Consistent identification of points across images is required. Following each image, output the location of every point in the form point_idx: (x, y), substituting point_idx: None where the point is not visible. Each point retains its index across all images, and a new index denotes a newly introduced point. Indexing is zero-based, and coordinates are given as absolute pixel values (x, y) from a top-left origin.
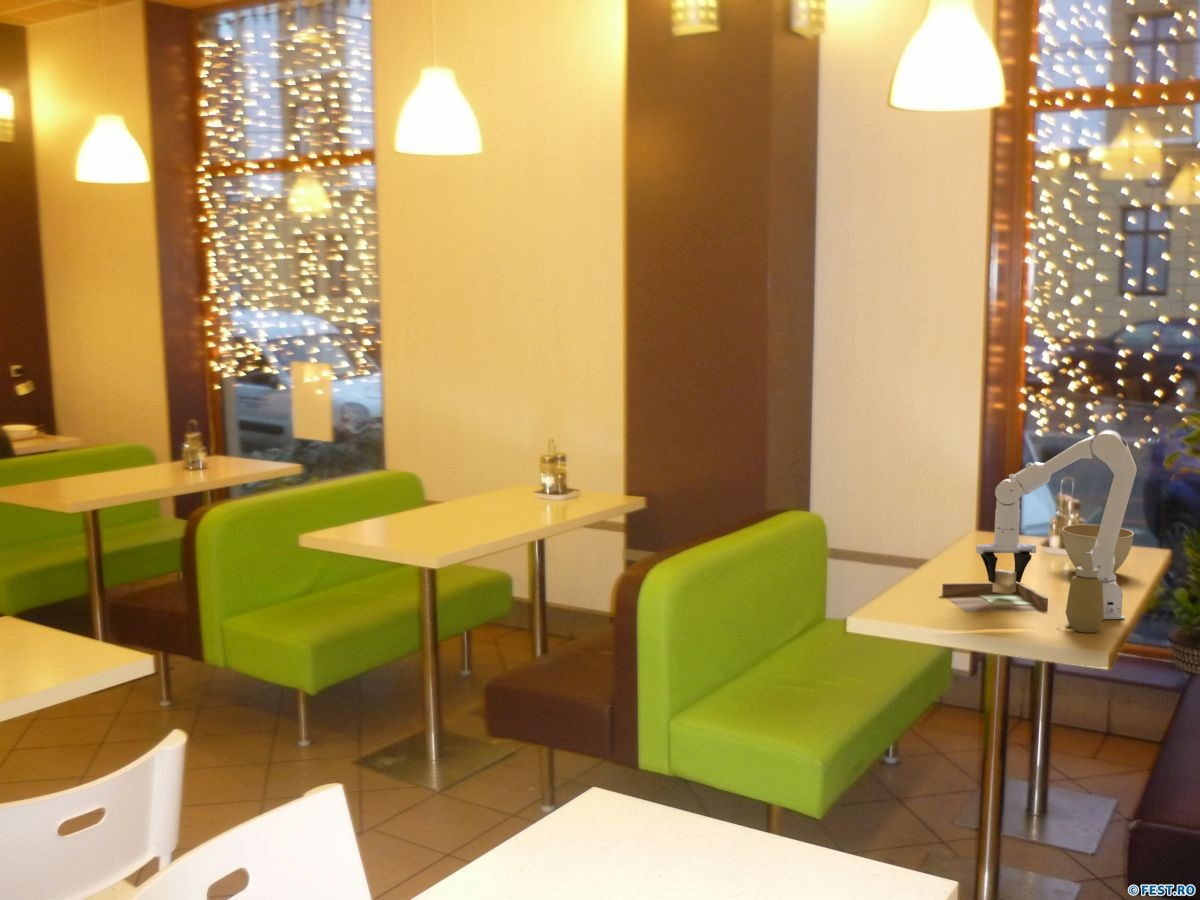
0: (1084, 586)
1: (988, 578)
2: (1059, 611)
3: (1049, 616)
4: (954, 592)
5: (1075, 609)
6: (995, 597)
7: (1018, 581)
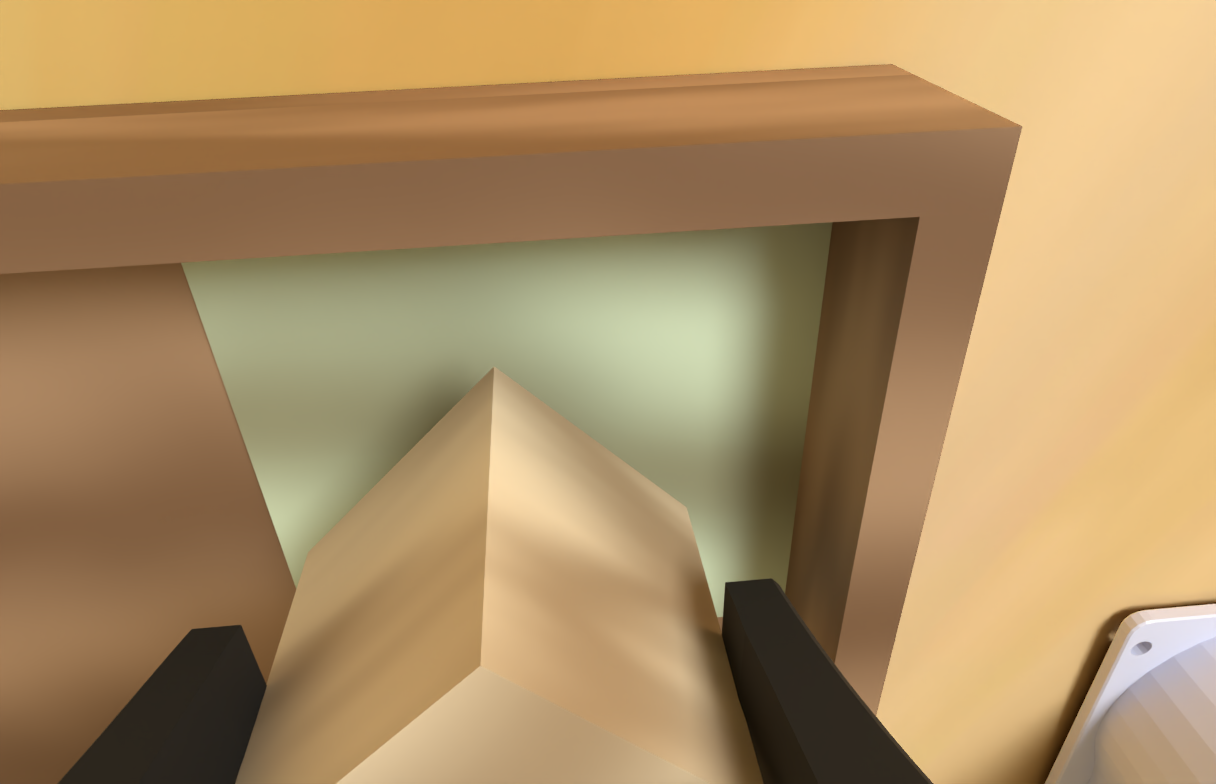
0: None
1: (162, 672)
2: (948, 649)
3: None
4: None
5: None
6: (415, 358)
7: None
